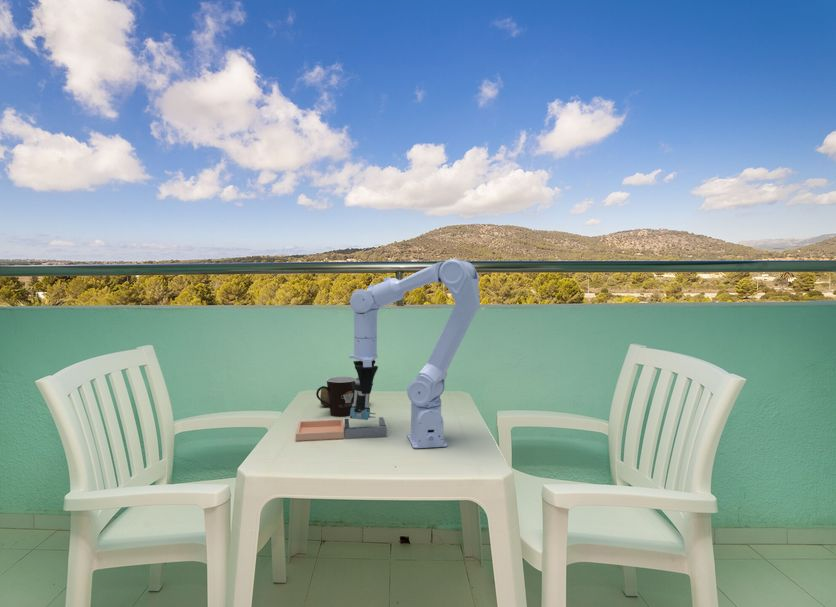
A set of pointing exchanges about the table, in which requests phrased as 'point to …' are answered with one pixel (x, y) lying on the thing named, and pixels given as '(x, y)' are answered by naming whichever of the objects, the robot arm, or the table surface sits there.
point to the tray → (320, 430)
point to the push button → (360, 403)
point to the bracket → (366, 430)
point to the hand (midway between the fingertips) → (365, 390)
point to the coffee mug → (339, 395)
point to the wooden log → (325, 397)
